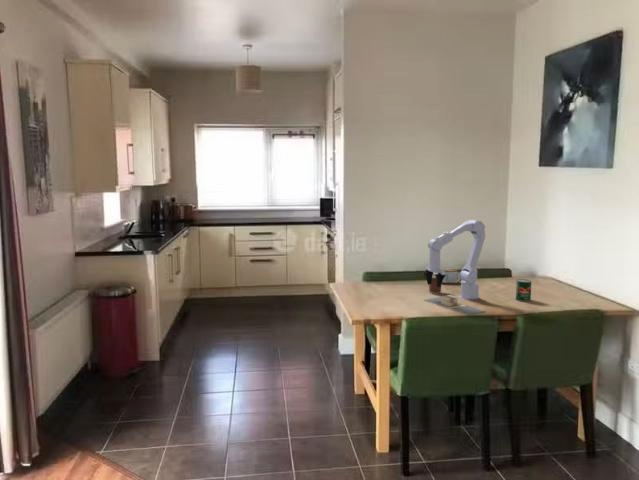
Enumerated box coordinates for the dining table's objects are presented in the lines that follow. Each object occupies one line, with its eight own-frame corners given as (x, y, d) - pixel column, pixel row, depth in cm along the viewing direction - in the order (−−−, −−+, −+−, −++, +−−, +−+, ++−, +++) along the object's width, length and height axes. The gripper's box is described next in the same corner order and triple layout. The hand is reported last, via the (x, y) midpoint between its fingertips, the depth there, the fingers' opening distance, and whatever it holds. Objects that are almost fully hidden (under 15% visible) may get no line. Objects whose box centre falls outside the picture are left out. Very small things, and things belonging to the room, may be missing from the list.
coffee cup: (443, 294, 310) (443, 274, 308) (427, 293, 312) (427, 273, 310) (442, 291, 319) (443, 271, 317) (427, 290, 321) (427, 270, 319)
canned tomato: (521, 302, 292) (522, 282, 291) (512, 298, 300) (513, 279, 299) (533, 301, 295) (534, 281, 293) (524, 297, 302) (525, 278, 301)
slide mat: (439, 298, 301) (439, 297, 301) (485, 312, 272) (485, 311, 272) (422, 300, 295) (422, 300, 295) (468, 315, 266) (468, 314, 266)
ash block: (449, 302, 290) (449, 295, 290) (457, 304, 285) (457, 297, 284) (440, 303, 287) (441, 296, 287) (448, 306, 282) (449, 298, 282)
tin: (461, 282, 343) (461, 269, 342) (462, 283, 340) (462, 270, 338) (437, 282, 342) (438, 269, 341) (438, 283, 339) (439, 270, 338)
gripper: (420, 259, 298) (419, 283, 299) (438, 263, 285) (437, 288, 287) (430, 258, 301) (429, 282, 303) (448, 262, 289) (447, 287, 291)
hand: (434, 285), depth 295 cm, fingers open, 7 cm apart
